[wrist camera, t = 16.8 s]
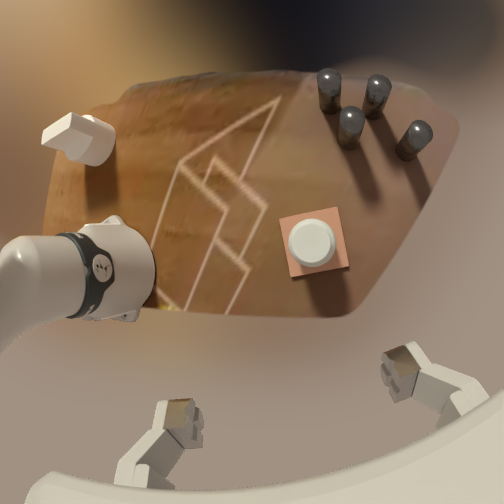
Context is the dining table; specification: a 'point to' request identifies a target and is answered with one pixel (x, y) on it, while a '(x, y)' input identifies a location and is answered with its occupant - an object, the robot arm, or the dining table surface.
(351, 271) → the dining table surface
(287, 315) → the dining table surface
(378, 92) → the posts
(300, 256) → the supplement bottle
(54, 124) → the cylinder with rectangular tab
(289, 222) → the terracotta tile
